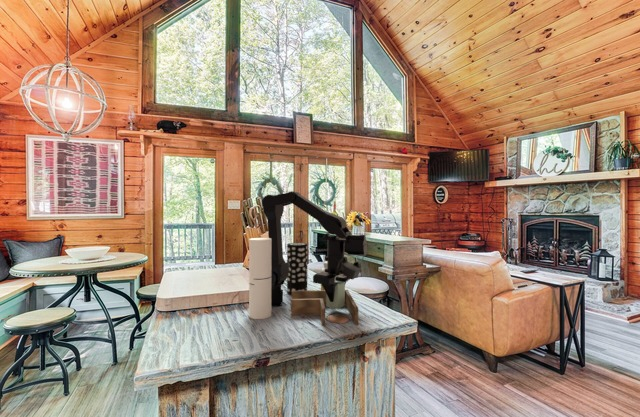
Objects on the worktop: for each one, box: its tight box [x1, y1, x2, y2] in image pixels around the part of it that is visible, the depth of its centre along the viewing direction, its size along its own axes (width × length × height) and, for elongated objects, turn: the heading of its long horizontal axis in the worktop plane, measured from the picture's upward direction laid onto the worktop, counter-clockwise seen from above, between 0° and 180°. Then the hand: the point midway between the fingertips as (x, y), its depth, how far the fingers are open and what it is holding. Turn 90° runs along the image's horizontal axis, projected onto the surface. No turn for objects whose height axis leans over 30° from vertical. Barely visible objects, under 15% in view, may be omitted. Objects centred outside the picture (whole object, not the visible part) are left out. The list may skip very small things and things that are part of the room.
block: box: [325, 281, 346, 310], centre depth 106 cm, size 4×4×8 cm
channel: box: [290, 289, 359, 326], centre depth 105 cm, size 20×20×5 cm
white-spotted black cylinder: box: [286, 242, 308, 296], centre depth 130 cm, size 8×8×20 cm
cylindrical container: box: [248, 237, 272, 320], centre depth 103 cm, size 7×7×25 cm
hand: (335, 299), depth 106 cm, fingers closed on block, 4 cm apart
